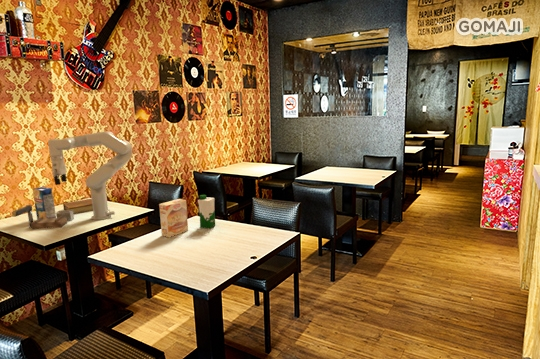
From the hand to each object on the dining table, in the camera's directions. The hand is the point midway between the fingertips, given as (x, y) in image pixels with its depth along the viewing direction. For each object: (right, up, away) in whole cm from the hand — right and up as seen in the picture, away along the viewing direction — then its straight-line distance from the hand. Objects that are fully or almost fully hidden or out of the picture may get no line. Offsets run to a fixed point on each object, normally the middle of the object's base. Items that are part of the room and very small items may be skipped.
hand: (61, 183), depth 255 cm
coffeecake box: (+83, -30, -26) cm, 92 cm away
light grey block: (0, -26, +5) cm, 26 cm away
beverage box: (-14, -26, +8) cm, 30 cm away
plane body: (-3, -28, -7) cm, 29 cm away
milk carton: (+101, -27, -15) cm, 106 cm away
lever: (-15, -19, -16) cm, 29 cm away
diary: (-1, -21, +32) cm, 38 cm away
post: (-14, -29, -8) cm, 33 cm away
